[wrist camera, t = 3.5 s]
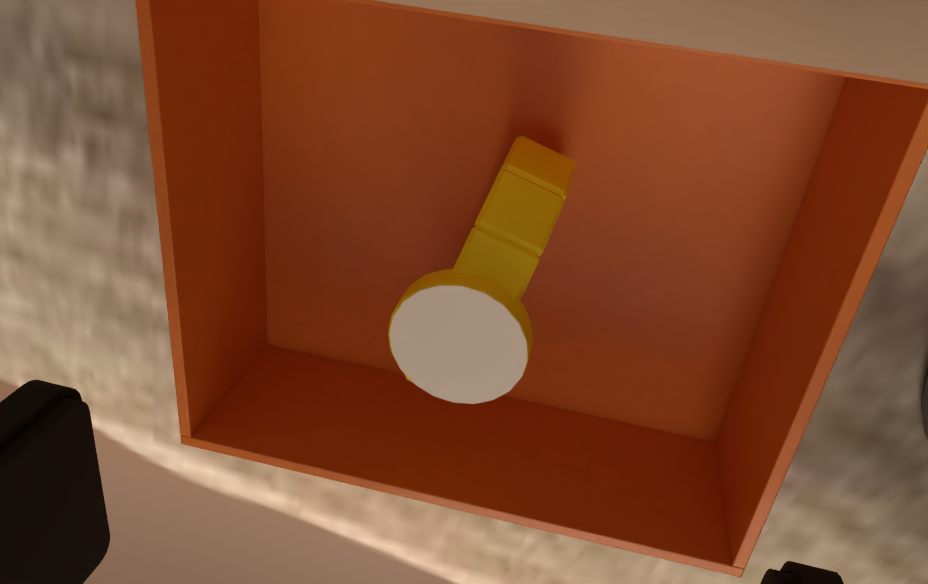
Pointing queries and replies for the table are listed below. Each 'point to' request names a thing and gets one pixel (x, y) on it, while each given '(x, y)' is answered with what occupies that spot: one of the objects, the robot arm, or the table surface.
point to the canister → (925, 404)
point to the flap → (742, 27)
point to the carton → (560, 265)
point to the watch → (484, 287)
